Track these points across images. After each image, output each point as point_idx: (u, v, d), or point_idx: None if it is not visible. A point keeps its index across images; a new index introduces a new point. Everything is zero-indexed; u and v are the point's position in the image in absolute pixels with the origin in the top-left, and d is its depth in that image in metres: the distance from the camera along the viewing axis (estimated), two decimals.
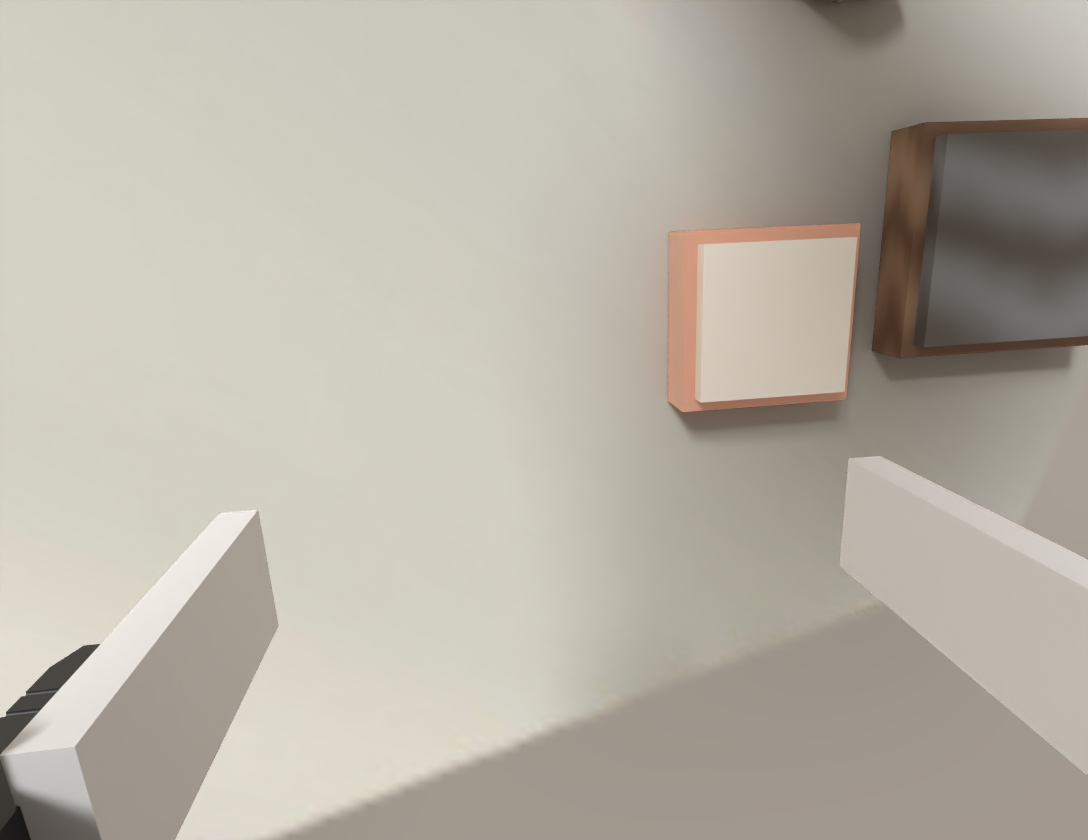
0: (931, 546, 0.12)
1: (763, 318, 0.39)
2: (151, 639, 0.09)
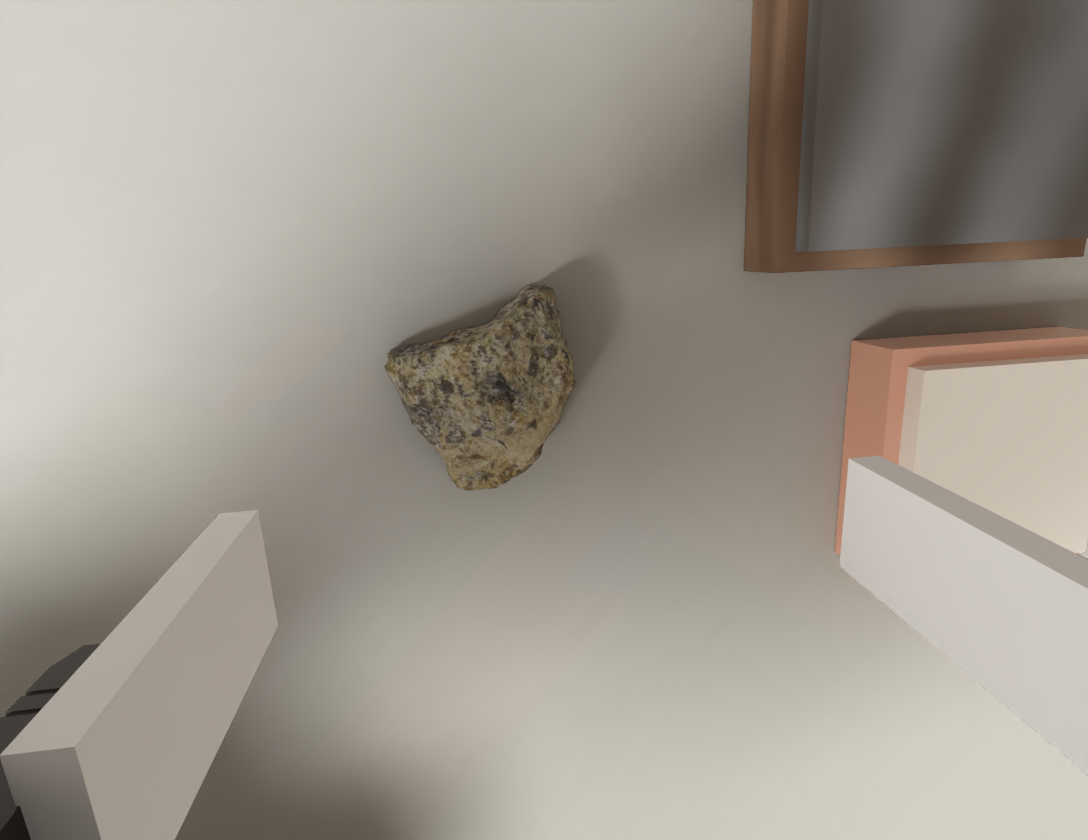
0: (931, 546, 0.12)
1: (1002, 486, 0.29)
2: (151, 639, 0.09)
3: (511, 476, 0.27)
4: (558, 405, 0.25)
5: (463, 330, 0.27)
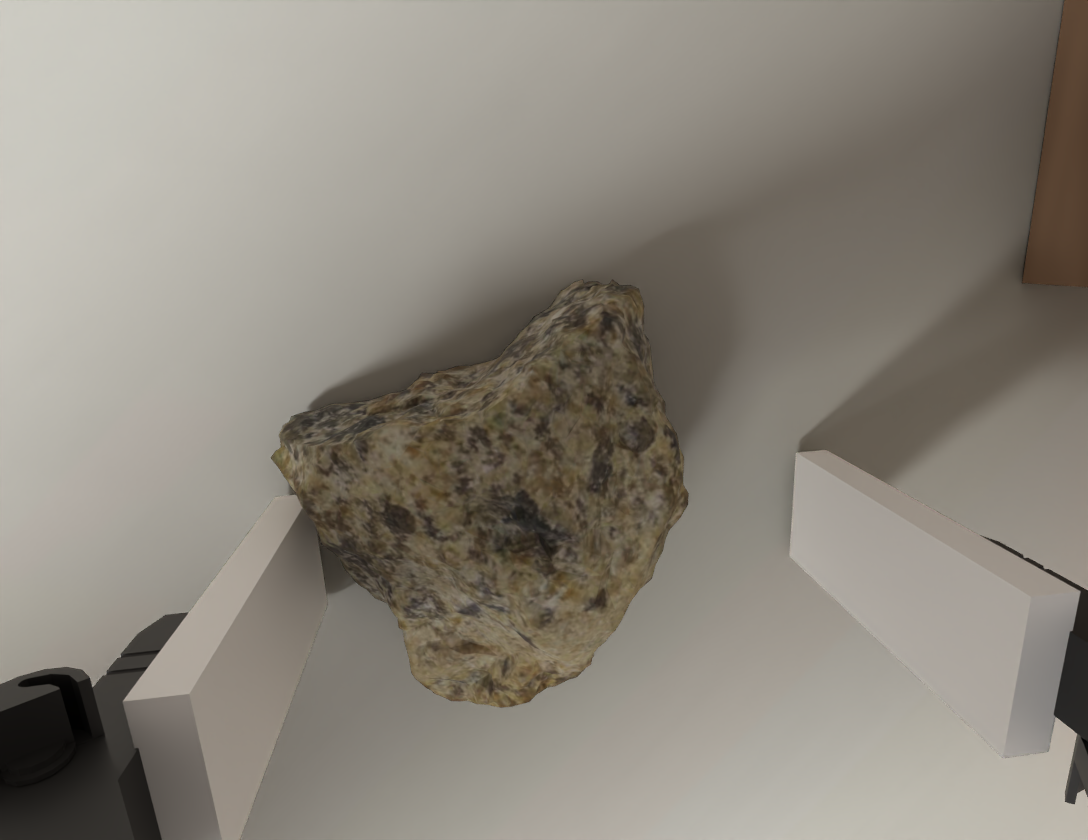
0: (863, 534, 0.13)
1: None
2: (237, 605, 0.10)
3: (544, 687, 0.13)
4: (654, 553, 0.11)
5: (442, 376, 0.13)
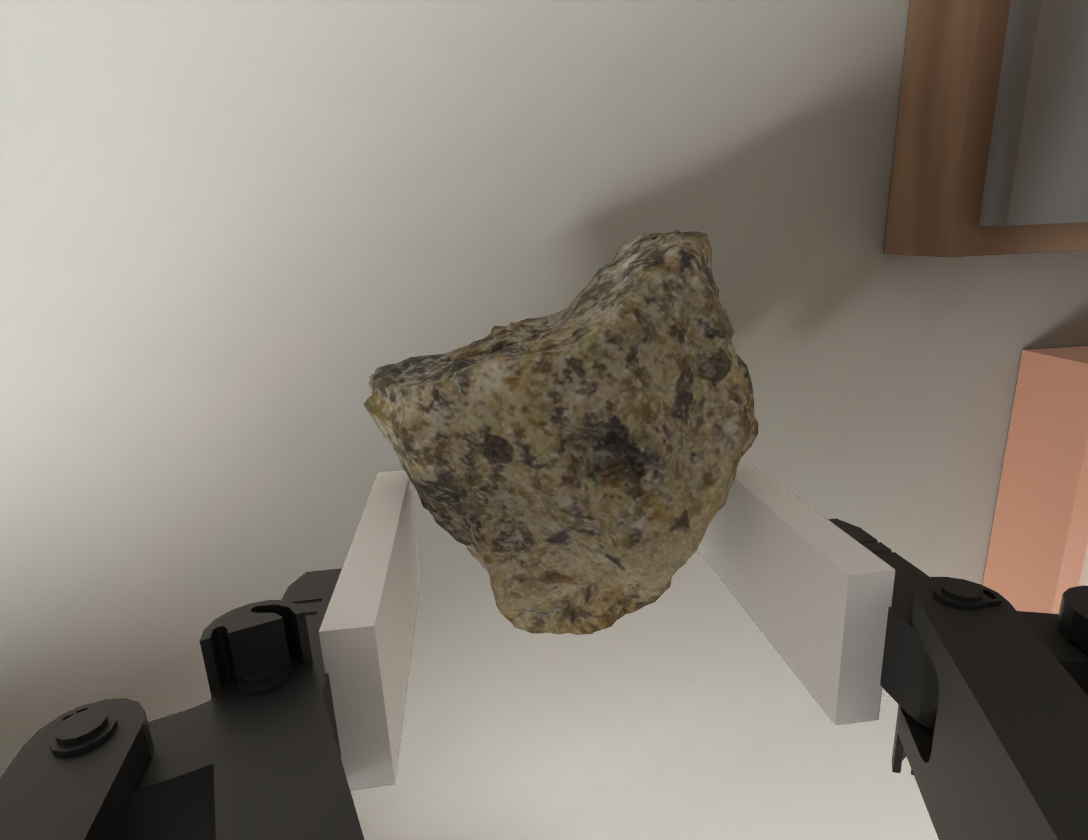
0: (742, 522, 0.13)
1: None
2: (383, 559, 0.11)
3: None
4: (730, 477, 0.12)
5: (519, 325, 0.14)
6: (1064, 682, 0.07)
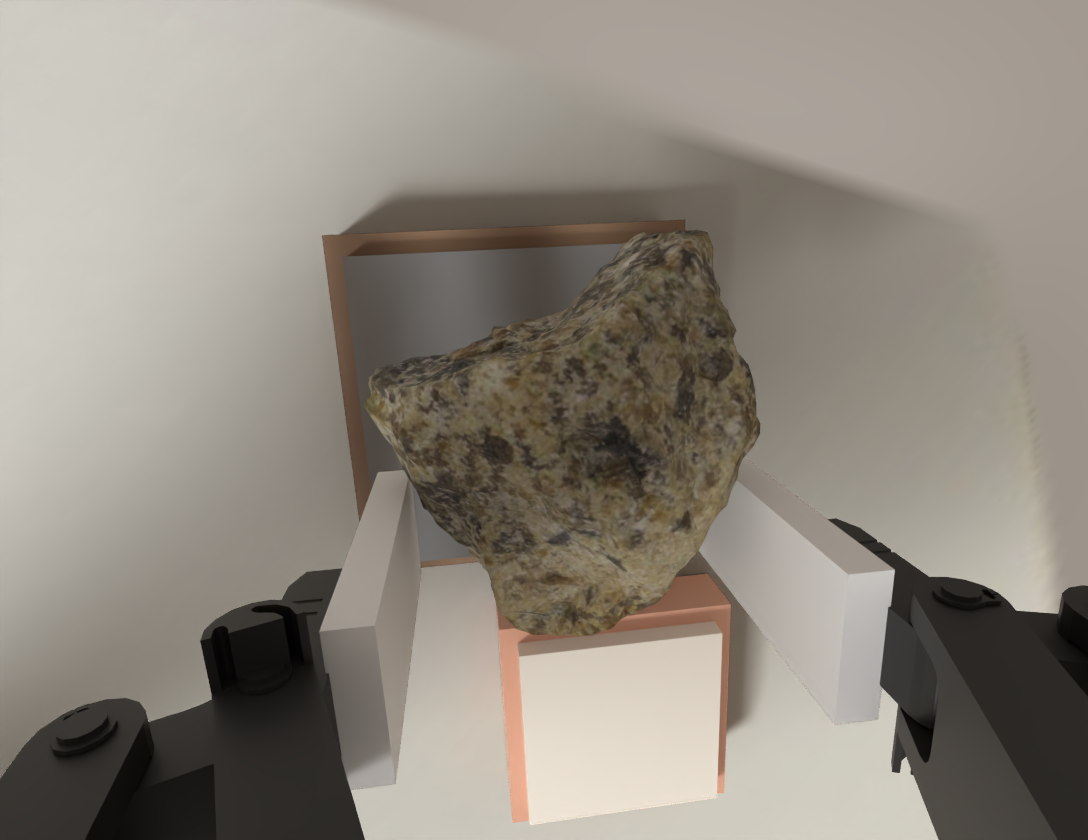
0: (742, 522, 0.13)
1: (619, 747, 0.30)
2: (384, 559, 0.11)
3: (625, 614, 0.13)
4: (732, 477, 0.12)
5: (519, 324, 0.13)
6: (1063, 682, 0.07)
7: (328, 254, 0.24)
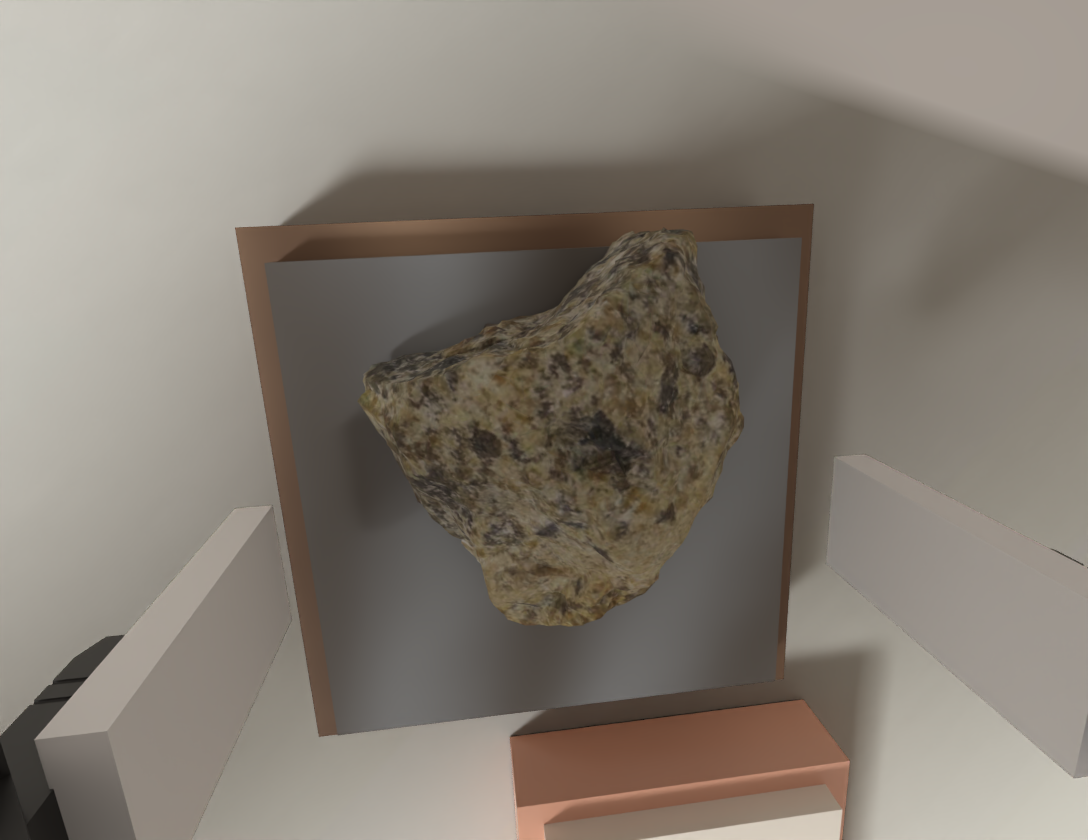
0: (912, 542, 0.12)
1: None
2: (175, 629, 0.09)
3: (614, 605, 0.14)
4: (716, 471, 0.12)
5: (509, 322, 0.14)
6: None
7: (246, 258, 0.15)
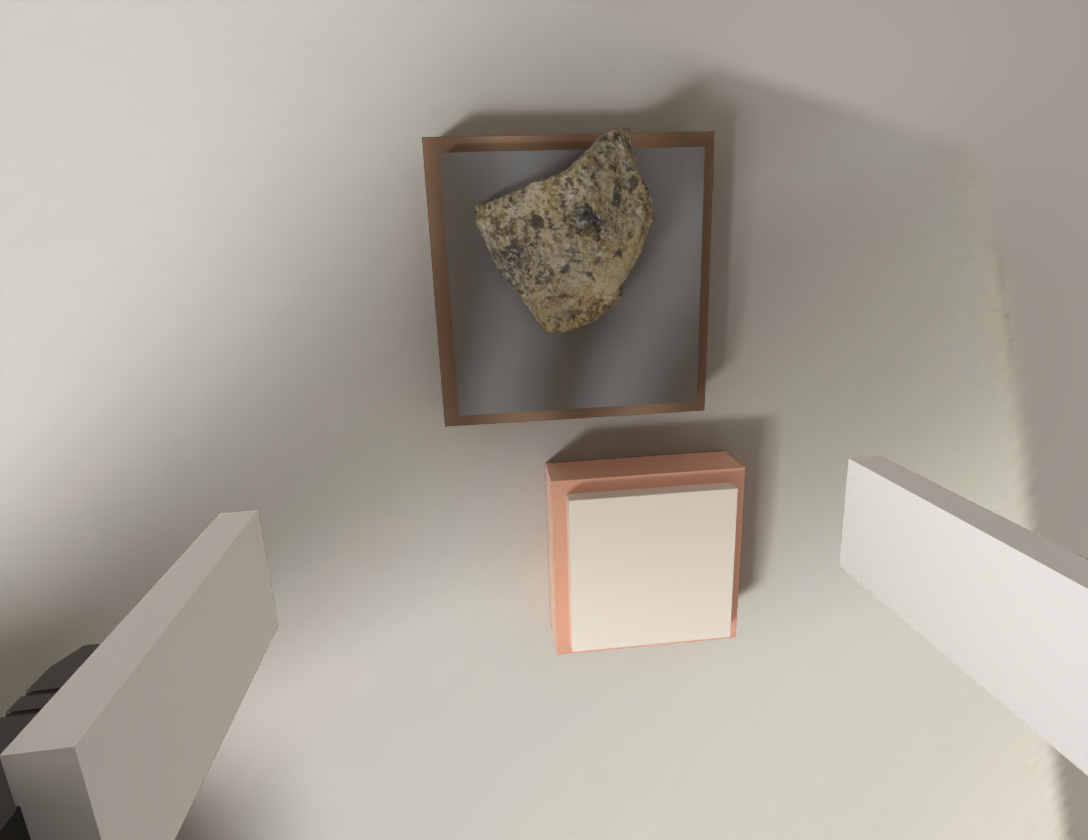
0: (930, 546, 0.12)
1: (649, 586, 0.36)
2: (151, 639, 0.09)
3: (597, 312, 0.29)
4: (641, 236, 0.27)
5: None
6: None
7: (426, 153, 0.30)
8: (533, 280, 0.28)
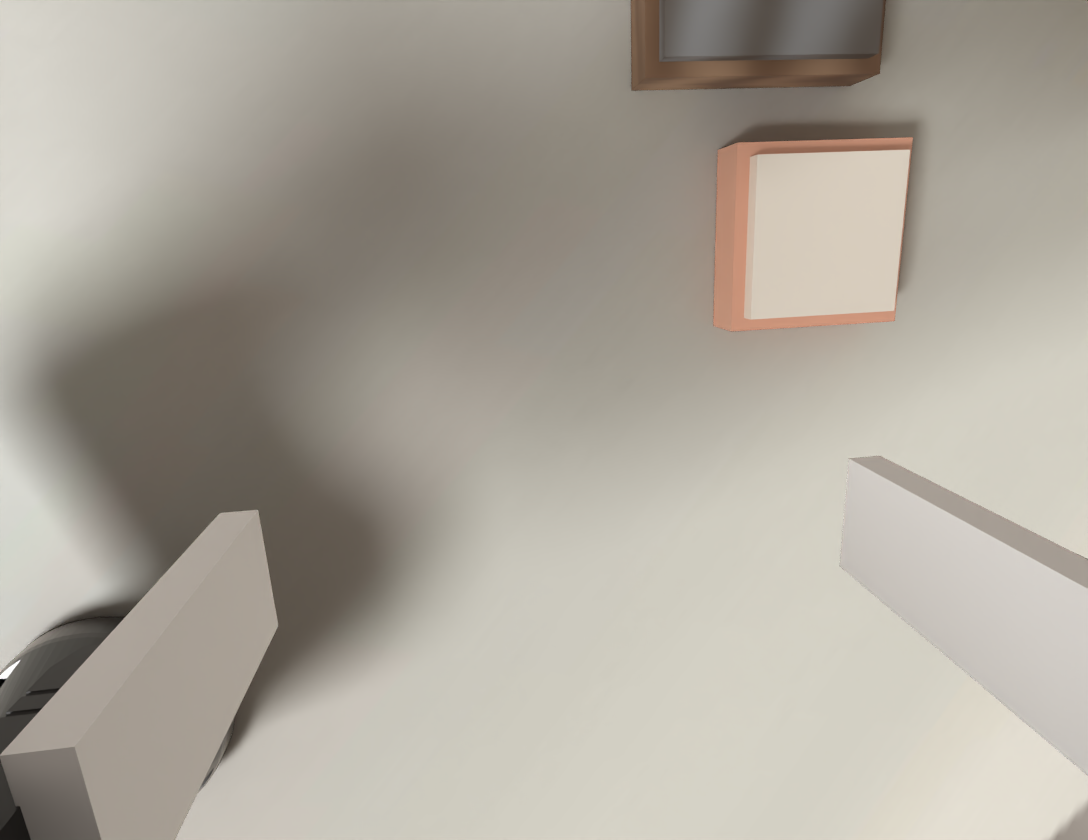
0: (931, 546, 0.12)
1: (824, 251, 0.39)
2: (151, 639, 0.09)
3: None
4: None
5: None
6: None
7: None
8: None
